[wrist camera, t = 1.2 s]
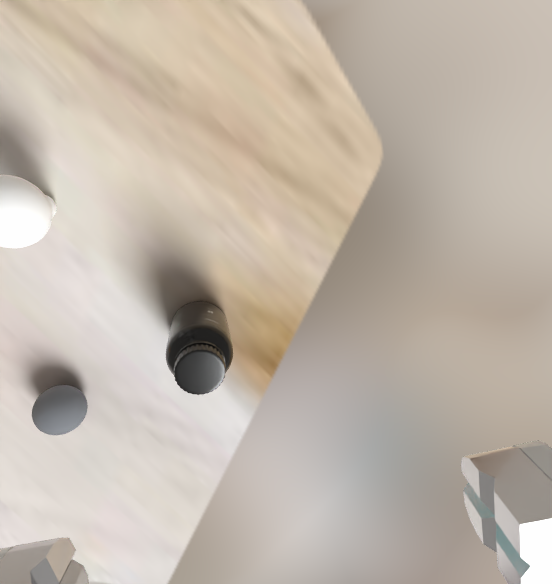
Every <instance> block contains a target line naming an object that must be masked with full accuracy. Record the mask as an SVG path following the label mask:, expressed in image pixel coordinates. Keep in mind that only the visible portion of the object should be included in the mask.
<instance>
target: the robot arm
mask: <svg viewBox="0 0 552 584" xmlns="http://www.w3.org/2000/svg"><path fill="white" fill-rule="evenodd" d="M461 466H462V473H463V475H464V476H465V478H466V479H467V481H468V482H469V483H468V484H467V486H466V487H465V489H464V500H465V505H466V508H467V511H468V515H469V518H470V520H471V522H472V524H473V527H474V529H475V531H476V533H477V534H478V536H479V537H480V539H481V541H482V543H483V544H484V545H486V546H487V547H489V548H491V549H492V550H494V551H495V552H497V559H498V560H497V561H498V568H499V570H500V572H501V573H502V574H503V576H504V578H505V579H506V581H507V583H508V584H552V448H551V447H549V446H548V445H547V444H546V443H544V442H542V441H539V440H537V441H533V442H528V443H523V444H519V445H514V446H512V447H505V448H500V449H496V450H491V451H486V452H481V453H477V454H472V455H467V456H463V458H462V461H461ZM75 551H76V549H75V548H74V546H73V544H72V542H71V540H70V539H69V538H57V539H51V540H45V541H39V542H33V543H28V544H22V545H16V546H14V547H8V548H2V549H0V584H89V581H88V575H87V573H86V570H85V568H84V566H83V565H81V564H79V563H78V562H76V561H74V560H73V556H74V554H75Z"/></svg>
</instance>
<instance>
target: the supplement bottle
mask: <svg viewBox="0 0 552 584" xmlns="http://www.w3.org/2000/svg"><path fill="white" fill-rule="evenodd" d="M232 358H233V348H232V342H231V338H230V333H229V328H228V323H227V320H226V317H225V315H224V314H223V312H222V311H221V310H220V309H219V308H218V307H217V306H215V305H213V304H211V303H208V302H203V301H197V302H192V303H189V304H186V305H185V306H183V307H182V308H180V309H179V310H178V311H177V313H176V314H175V316H174V318H173V320H172V324H171V328H170V333H169V338H168V343H167V348H166V361H167V365H168V367H169V369H170V371H171V372H172V374H173V375H174V377H175V381H176V382H177V384H178V385H179V386H180V388H182V389H183V390H184V391H187V392H188V393H192V394H197V395H199V394H205V393H209V392H212V391H213V390H214V389H217V387H218V386H220V384H221V383H222V382H223V379H224V377H225V373H226V371H227V370H228V369H229V367H230V365H231V362H232Z"/></svg>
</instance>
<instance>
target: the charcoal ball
mask: <svg viewBox="0 0 552 584" xmlns="http://www.w3.org/2000/svg"><path fill="white" fill-rule="evenodd" d="M86 413H87V400H86V398H85V396H84V394H83V393H82V392H81V391H80V390H79V389H77V388H75V387H73V386H69V385H58V386H54V387H52V388H49V389H48V390H46V391H45V392H43V393H42V394H41V395H40V396H39V397H38V398H37V400H36V401H35V403H34V406H33V409H32V418H33V422H34V424H35V425H36V427H37V428H38V429H39V430H40V431H42V432H44V433H46V434H49V435H62V434H66V433H68V432H70V431H72V430H74V429H75V428H76V427H78V426H79V425H80V424H81V422H82V421H83V419H84V418H85V415H86Z"/></svg>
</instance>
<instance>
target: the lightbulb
mask: <svg viewBox="0 0 552 584" xmlns="http://www.w3.org/2000/svg"><path fill="white" fill-rule="evenodd" d="M56 211H57V206H56V203H55V202H54V200H53V199H52V198H50V197H49V196H47V195H44V193H43V192H42V191H41V190H40V189H39V188H38V187H37V186H35V185H34V184H32V183H31V182H29V181H27V180H25V179H23V178H20V177H17V176H13V175H2V174H0V247H5V248H22V247H26V246H29V245H32V244H34V243H36V242H38V241H39V240H41V239H42V238H43V237H44V236H45V234H46V233H47V231H48V230H49V228H50V226H51V223H52V217H53V216H54V215H55V214H56Z"/></svg>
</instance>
